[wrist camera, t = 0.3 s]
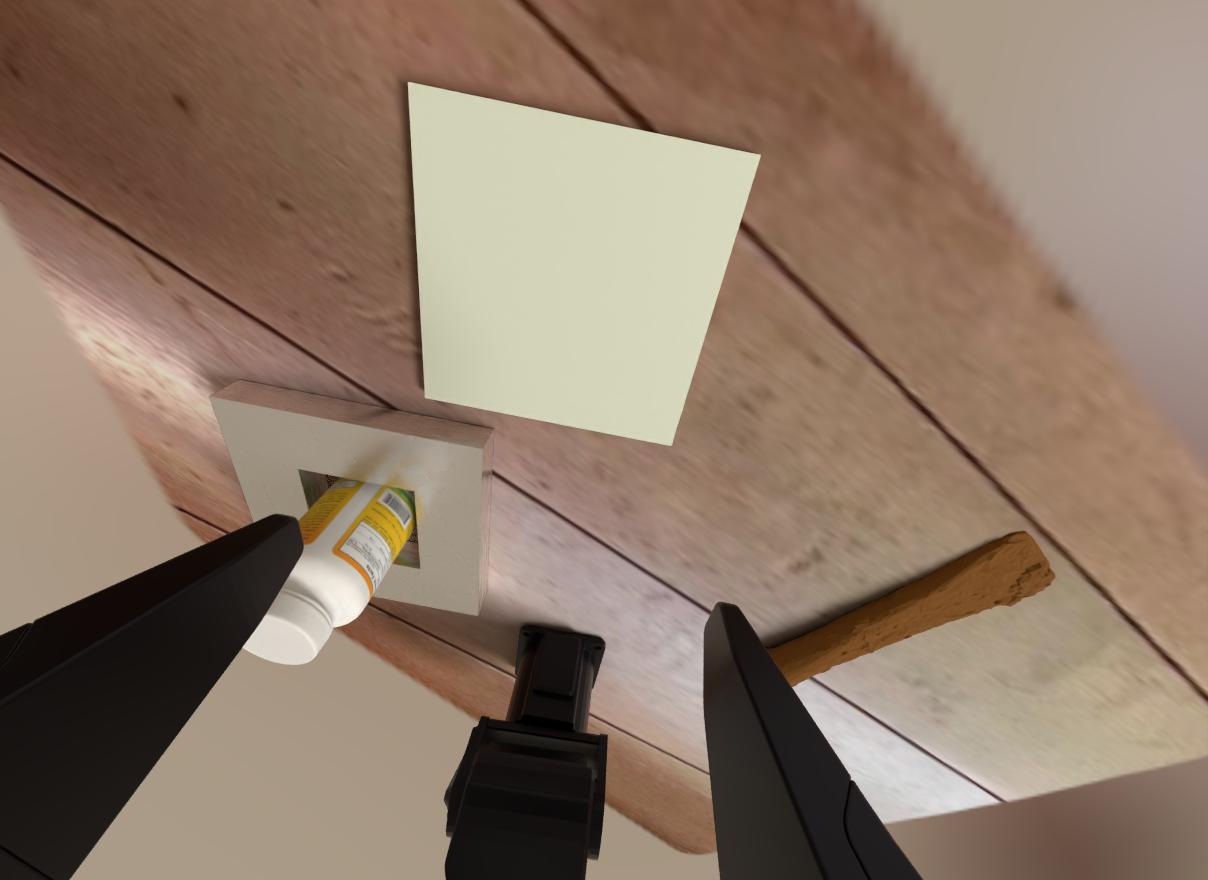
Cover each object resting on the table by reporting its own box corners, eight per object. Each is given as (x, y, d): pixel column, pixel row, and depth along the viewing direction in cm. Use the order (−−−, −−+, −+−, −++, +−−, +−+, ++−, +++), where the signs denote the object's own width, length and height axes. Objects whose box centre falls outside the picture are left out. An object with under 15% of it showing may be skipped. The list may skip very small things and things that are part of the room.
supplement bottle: (334, 513, 29) (212, 652, 21) (341, 452, 26) (203, 586, 18) (415, 542, 30) (326, 687, 22) (430, 485, 27) (335, 628, 19)
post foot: (487, 592, 32) (478, 616, 30) (293, 555, 32) (273, 577, 30) (494, 429, 25) (482, 449, 23) (239, 379, 24) (209, 396, 23)
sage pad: (670, 439, 24) (671, 445, 23) (429, 392, 24) (424, 398, 23) (757, 155, 17) (760, 154, 16) (415, 84, 17) (407, 81, 16)
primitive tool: (1020, 522, 25) (1069, 571, 22) (1054, 574, 27) (1103, 625, 24) (734, 643, 34) (742, 690, 31) (775, 676, 35) (786, 723, 33)
